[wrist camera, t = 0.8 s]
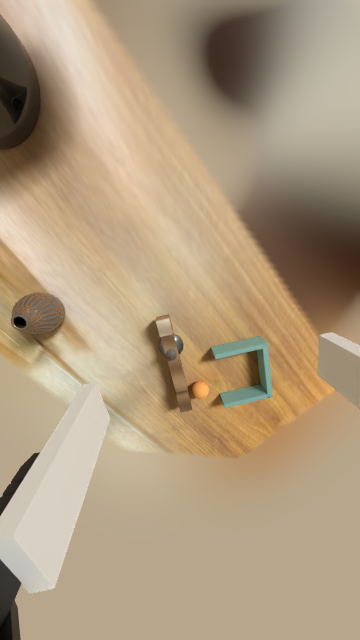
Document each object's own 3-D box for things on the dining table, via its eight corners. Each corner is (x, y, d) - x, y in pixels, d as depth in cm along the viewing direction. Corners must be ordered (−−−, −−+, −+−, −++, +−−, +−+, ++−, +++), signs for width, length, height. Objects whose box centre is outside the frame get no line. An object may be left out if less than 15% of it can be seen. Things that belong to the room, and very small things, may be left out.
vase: (66, 330, 39) (39, 350, 31) (29, 318, 38) (-10, 335, 30) (74, 297, 38) (48, 309, 29) (36, 284, 36) (-3, 292, 28)
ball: (189, 380, 44) (191, 390, 41) (205, 376, 44) (208, 386, 41) (192, 393, 46) (195, 404, 42) (208, 389, 46) (211, 400, 42)
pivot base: (156, 337, 41) (156, 337, 41) (180, 331, 41) (180, 332, 40) (162, 358, 42) (162, 359, 42) (185, 353, 42) (185, 354, 42)
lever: (156, 316, 39) (155, 322, 35) (168, 313, 39) (169, 319, 35) (179, 399, 45) (180, 412, 41) (190, 397, 45) (192, 410, 41)
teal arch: (210, 347, 42) (214, 354, 39) (259, 335, 42) (267, 342, 39) (220, 396, 46) (224, 407, 43) (265, 386, 46) (272, 396, 43)
